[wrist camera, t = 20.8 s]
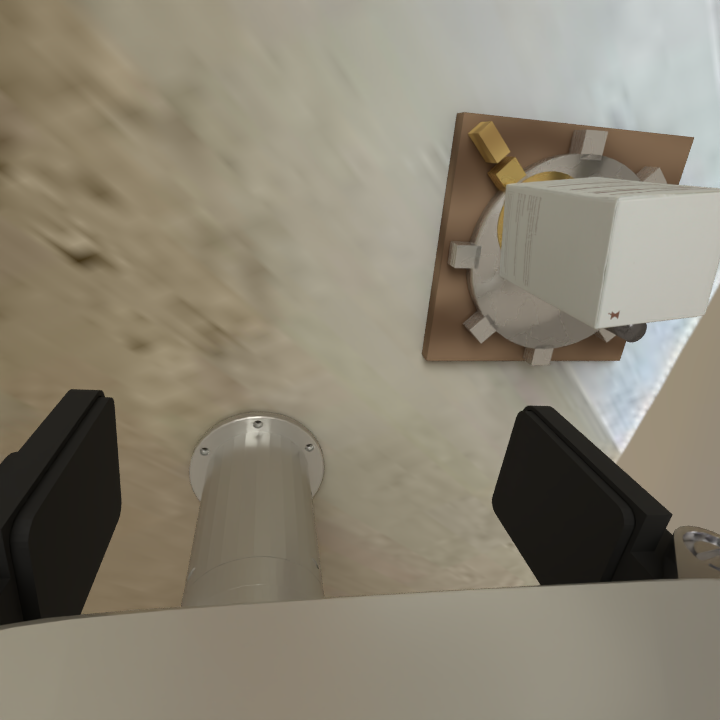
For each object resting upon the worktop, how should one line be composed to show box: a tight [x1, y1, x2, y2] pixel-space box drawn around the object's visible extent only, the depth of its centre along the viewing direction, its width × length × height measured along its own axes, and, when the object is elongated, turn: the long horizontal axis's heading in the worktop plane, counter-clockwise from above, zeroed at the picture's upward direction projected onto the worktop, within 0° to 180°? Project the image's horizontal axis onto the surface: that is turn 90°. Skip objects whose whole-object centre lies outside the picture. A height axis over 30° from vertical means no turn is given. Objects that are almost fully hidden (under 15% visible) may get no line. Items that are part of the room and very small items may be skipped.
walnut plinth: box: [422, 112, 694, 361], centre depth 40 cm, size 20×20×4 cm
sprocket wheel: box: [448, 130, 667, 365], centre depth 37 cm, size 19×19×6 cm
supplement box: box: [499, 177, 720, 330], centre depth 31 cm, size 7×7×13 cm
